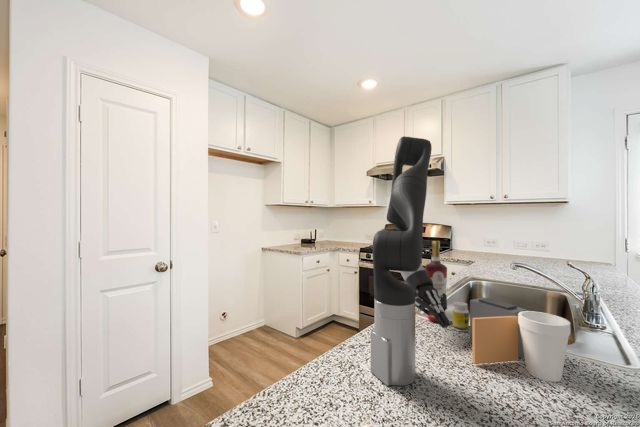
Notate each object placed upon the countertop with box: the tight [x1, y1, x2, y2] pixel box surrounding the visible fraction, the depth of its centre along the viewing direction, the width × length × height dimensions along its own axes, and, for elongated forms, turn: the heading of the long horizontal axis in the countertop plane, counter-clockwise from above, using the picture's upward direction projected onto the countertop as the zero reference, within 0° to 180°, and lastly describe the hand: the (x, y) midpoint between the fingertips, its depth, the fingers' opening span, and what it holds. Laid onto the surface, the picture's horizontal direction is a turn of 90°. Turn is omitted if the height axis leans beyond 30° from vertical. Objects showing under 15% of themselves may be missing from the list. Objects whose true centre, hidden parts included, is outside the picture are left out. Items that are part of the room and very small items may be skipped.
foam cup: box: [518, 310, 571, 383], centre depth 64 cm, size 10×9×13 cm
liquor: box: [424, 240, 448, 323], centre depth 97 cm, size 7×7×28 cm
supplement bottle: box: [452, 301, 470, 333], centre depth 89 cm, size 5×5×8 cm
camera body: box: [469, 297, 528, 359], centre depth 77 cm, size 6×12×13 cm, turn 25°
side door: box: [471, 316, 519, 365], centre depth 68 cm, size 1×12×11 cm, turn 99°
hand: (446, 326), depth 79 cm, fingers closed
